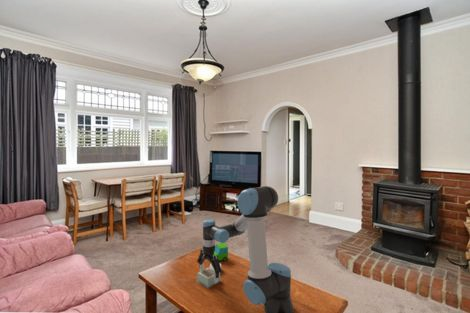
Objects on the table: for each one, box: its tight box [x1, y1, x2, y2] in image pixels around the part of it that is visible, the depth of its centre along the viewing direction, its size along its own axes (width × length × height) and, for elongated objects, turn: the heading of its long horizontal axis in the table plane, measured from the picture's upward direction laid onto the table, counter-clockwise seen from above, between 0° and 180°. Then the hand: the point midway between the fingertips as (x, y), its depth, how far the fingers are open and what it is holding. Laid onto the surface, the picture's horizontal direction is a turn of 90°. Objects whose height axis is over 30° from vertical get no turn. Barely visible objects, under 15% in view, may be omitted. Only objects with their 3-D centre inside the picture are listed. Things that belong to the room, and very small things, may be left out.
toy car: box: [212, 242, 229, 262], centre depth 184 cm, size 10×13×10 cm
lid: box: [196, 266, 221, 287], centre depth 156 cm, size 10×10×5 cm
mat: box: [194, 278, 223, 289], centre depth 156 cm, size 12×12×1 cm
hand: (208, 278), depth 156 cm, fingers open, 13 cm apart
